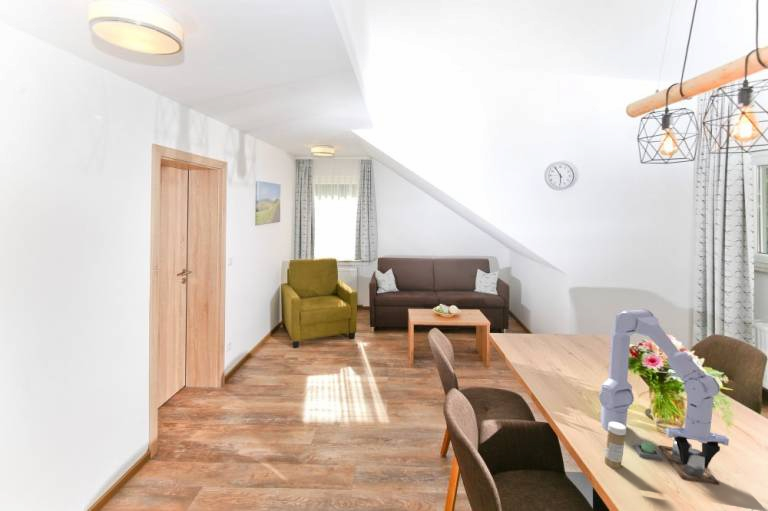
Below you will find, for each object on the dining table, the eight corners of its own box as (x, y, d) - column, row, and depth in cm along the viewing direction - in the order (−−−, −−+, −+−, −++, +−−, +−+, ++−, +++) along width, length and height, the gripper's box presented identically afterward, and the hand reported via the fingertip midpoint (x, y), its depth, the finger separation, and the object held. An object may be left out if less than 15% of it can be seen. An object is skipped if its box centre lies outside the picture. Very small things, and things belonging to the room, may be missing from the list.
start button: (639, 448, 129) (640, 439, 129) (651, 450, 128) (652, 441, 128) (643, 455, 126) (643, 445, 125) (655, 456, 125) (656, 447, 125)
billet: (685, 474, 116) (688, 454, 116) (682, 466, 120) (684, 446, 120) (705, 479, 114) (707, 459, 114) (700, 470, 118) (703, 450, 118)
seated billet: (669, 456, 128) (671, 437, 127) (685, 458, 127) (687, 440, 126) (675, 464, 124) (677, 445, 123) (692, 467, 123) (694, 448, 122)
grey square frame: (632, 450, 131) (633, 443, 130) (654, 453, 129) (655, 446, 129) (639, 461, 125) (639, 453, 125) (661, 464, 123) (662, 456, 123)
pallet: (658, 451, 131) (658, 445, 131) (690, 456, 128) (691, 449, 128) (681, 483, 115) (681, 476, 115) (718, 489, 113) (719, 483, 112)
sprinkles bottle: (605, 461, 124) (610, 419, 123) (622, 468, 121) (628, 425, 120) (601, 468, 121) (606, 424, 119) (619, 475, 118) (624, 430, 116)
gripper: (674, 421, 114) (670, 467, 116) (736, 429, 110) (731, 477, 112) (664, 409, 121) (660, 453, 122) (722, 417, 117) (717, 462, 119)
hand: (693, 464), depth 118 cm, fingers closed on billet, 4 cm apart
